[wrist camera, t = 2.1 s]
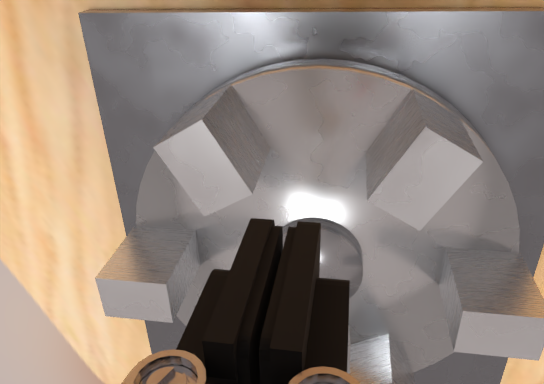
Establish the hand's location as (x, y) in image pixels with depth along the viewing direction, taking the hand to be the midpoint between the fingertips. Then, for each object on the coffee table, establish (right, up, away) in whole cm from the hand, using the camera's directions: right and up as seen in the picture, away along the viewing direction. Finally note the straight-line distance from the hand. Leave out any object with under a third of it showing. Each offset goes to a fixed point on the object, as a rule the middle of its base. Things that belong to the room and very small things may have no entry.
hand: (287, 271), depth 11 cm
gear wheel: (+2, -1, +15) cm, 15 cm away
